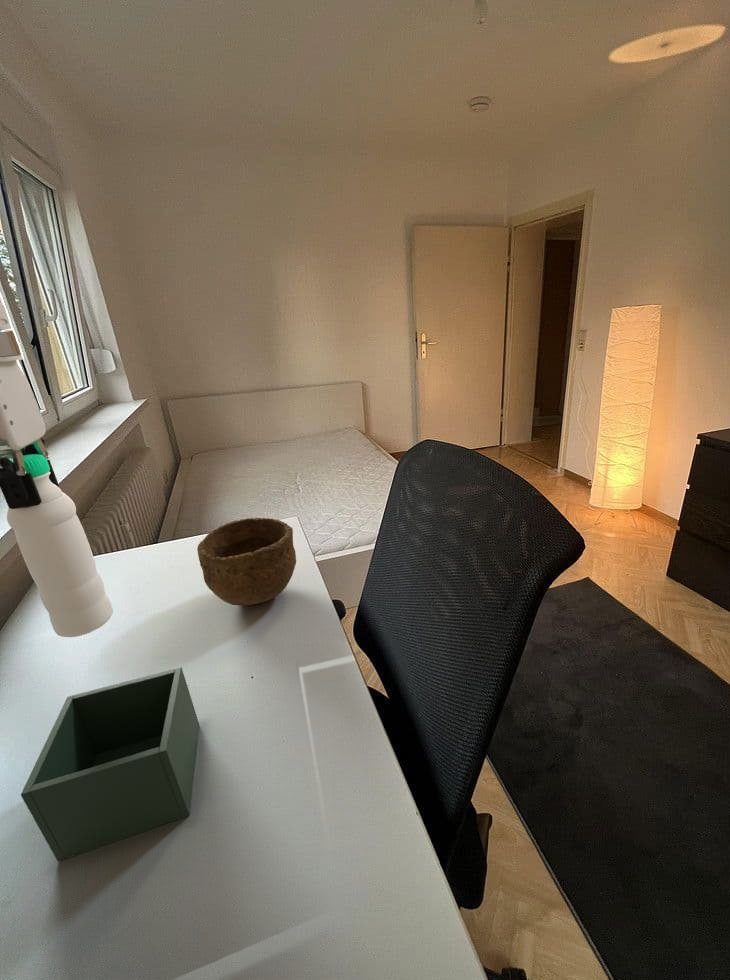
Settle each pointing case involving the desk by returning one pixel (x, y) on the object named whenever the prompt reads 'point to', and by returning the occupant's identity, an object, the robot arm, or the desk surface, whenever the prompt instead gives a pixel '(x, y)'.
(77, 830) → the green storage bin
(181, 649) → the desk surface
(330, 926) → the desk surface
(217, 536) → the bowl
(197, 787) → the desk surface
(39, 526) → the water bottle
